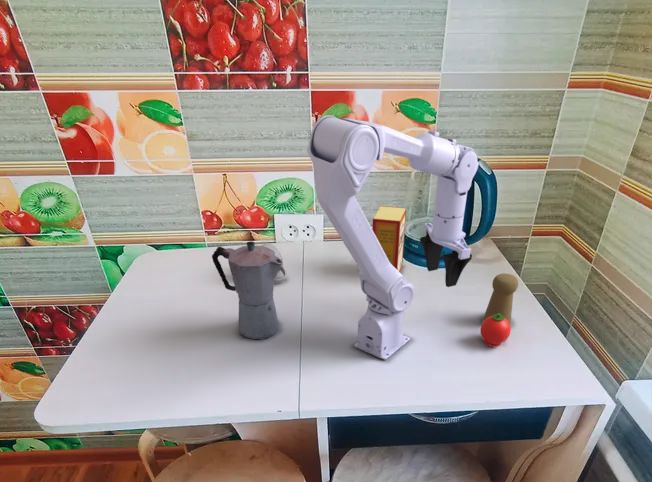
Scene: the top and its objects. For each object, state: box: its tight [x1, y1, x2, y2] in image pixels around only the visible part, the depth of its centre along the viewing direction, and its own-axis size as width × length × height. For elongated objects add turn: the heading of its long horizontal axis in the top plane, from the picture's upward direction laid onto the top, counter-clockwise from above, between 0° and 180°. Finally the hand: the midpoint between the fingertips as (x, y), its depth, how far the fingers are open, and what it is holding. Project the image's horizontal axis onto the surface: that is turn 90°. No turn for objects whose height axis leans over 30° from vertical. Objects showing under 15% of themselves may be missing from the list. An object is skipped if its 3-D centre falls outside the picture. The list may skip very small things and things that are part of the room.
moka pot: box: [211, 241, 284, 340], centre depth 95 cm, size 10×15×20 cm, turn 78°
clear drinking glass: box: [260, 242, 287, 285], centre depth 118 cm, size 11×8×8 cm
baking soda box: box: [371, 205, 407, 273], centre depth 118 cm, size 10×6×16 cm
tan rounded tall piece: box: [482, 272, 519, 325], centre depth 100 cm, size 6×6×11 cm
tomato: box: [479, 313, 512, 348], centre depth 95 cm, size 6×6×7 cm
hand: (441, 277), depth 98 cm, fingers open, 7 cm apart
